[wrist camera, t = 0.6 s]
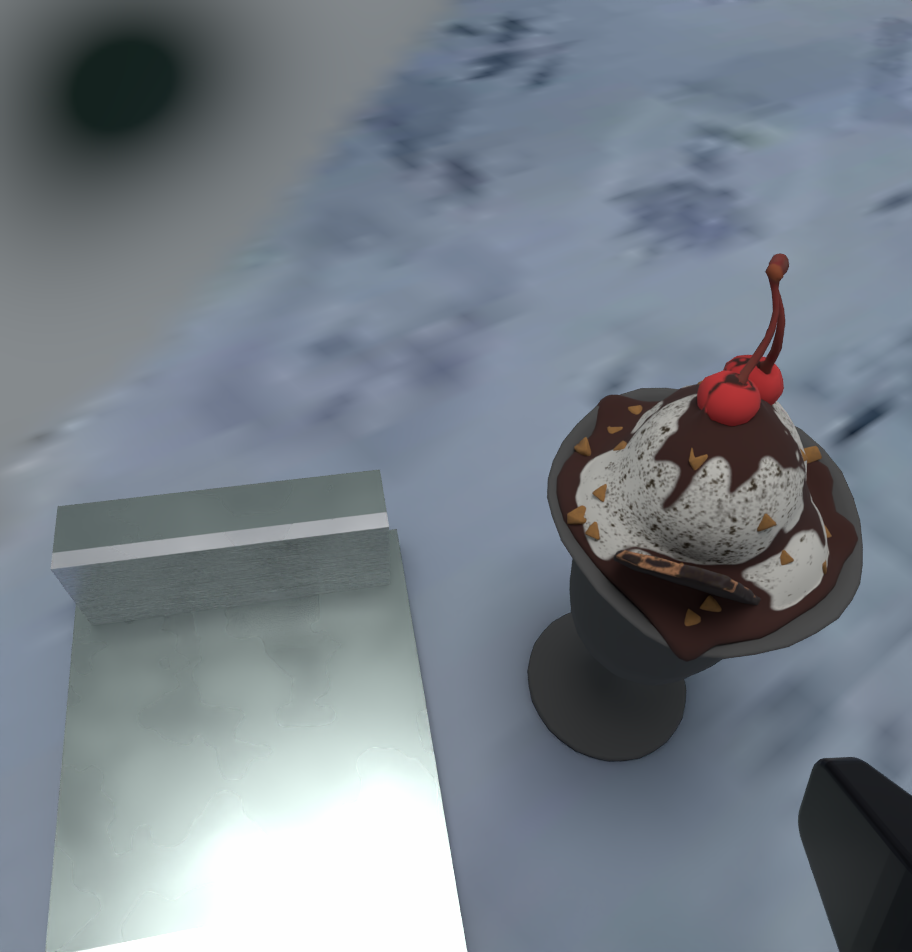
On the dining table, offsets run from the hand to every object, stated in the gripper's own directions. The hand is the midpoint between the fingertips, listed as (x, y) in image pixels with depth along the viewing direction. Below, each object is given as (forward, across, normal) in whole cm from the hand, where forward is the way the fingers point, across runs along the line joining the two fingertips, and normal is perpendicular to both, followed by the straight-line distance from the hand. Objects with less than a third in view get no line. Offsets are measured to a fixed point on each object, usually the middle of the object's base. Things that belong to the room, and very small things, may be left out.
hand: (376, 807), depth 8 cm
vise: (+10, +3, +12) cm, 16 cm away
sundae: (+14, -7, +11) cm, 19 cm away
